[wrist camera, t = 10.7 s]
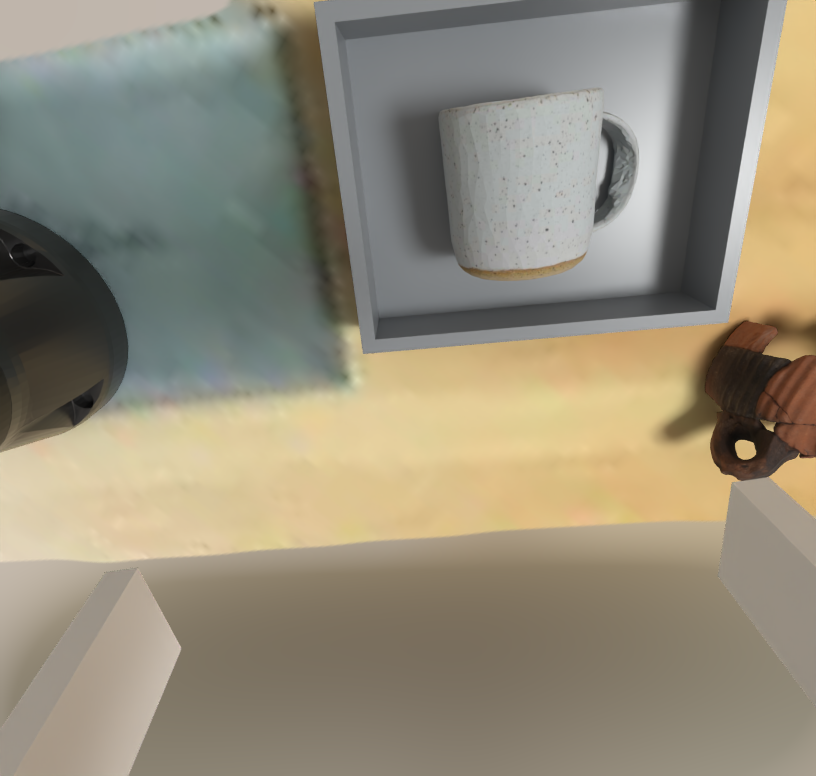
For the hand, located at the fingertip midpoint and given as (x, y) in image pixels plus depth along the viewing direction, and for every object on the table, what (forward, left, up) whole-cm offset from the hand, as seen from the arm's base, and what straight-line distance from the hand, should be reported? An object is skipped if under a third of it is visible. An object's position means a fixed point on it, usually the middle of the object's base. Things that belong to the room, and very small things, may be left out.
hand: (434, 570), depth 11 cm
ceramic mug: (+7, +7, -23) cm, 25 cm away
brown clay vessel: (+23, -8, -24) cm, 34 cm away
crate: (+7, +7, -24) cm, 25 cm away
